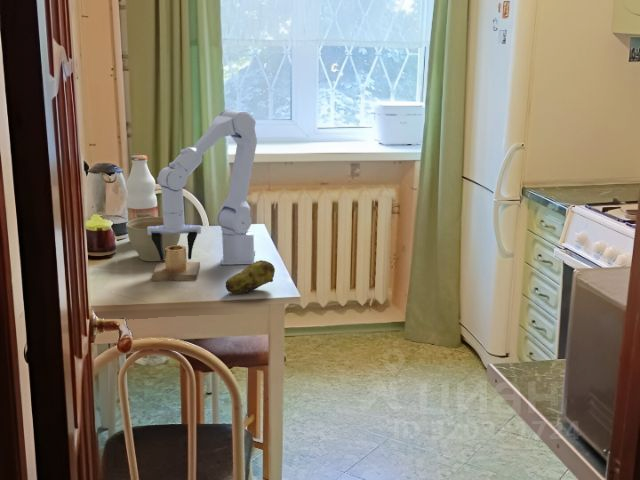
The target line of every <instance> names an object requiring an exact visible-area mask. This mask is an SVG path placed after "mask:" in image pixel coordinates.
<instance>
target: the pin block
mask: <svg viewBox="0 0 640 480" xmlns="http://www.w3.org/2000/svg"><path fill="white" fill-rule="evenodd" d="M200 270H201V262H200V261H191V262H190V261H187V269H186V270H183V271H180V272H170V271H167V270H166V264H165V262H157V264H156V266H155V268H154V271H153V272H152V275H151V281H152V282H160V281H167V280H169V281H197V279H198V276H199V271H200Z"/></svg>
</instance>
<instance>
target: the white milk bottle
mask: <svg viewBox="0 0 640 480" xmlns="http://www.w3.org/2000/svg"><path fill="white" fill-rule="evenodd" d="M130 158H131V159H130V160H131V164H132V166H131V169H130V173H129V176H128V177H127V179H126V183H125V185H126V190H127V193H128V194H127V196H126V197H127V198H126V208H127V219H128V221H127V222H129V221H131V220H134V219H139V218H146V217H159V210H158V200H157V199H158V198H157V195H156V192H155V191H156V185H157V184H156V183H157V182H156V180H155V178H154V177H153V175H152V174H151V171H150V169H149V167H148V163H147V162H148V156H147V155H144V154H136V155H132V156H131V157H130ZM129 242H130V241H129ZM130 244H131V242H130Z"/></svg>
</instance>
